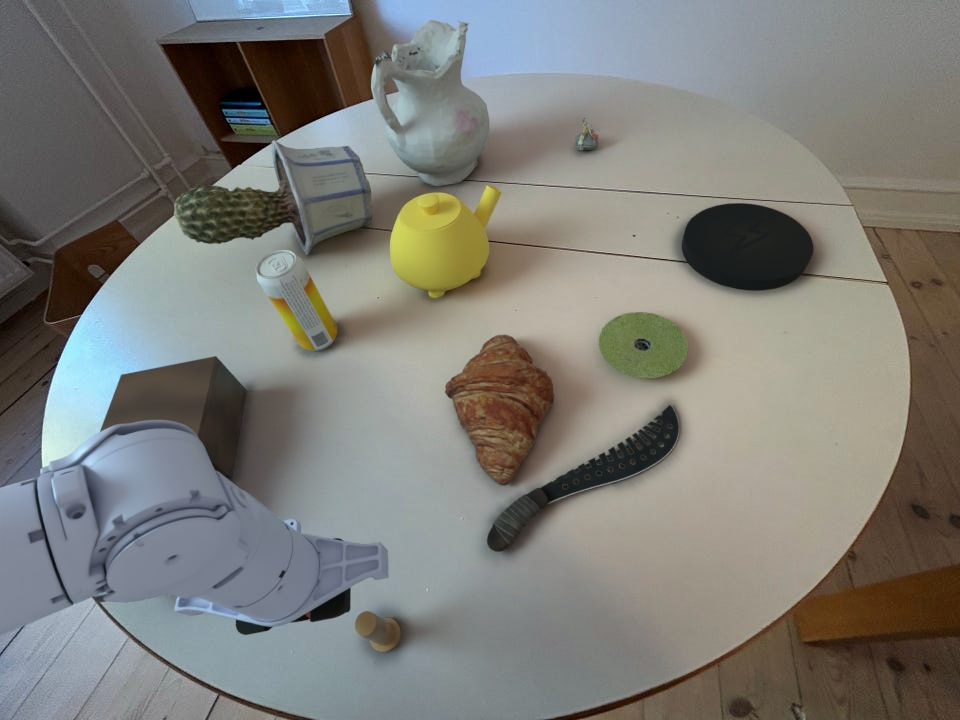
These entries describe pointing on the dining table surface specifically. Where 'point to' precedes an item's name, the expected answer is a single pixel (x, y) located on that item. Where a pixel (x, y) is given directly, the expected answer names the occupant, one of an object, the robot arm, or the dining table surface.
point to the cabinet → (186, 404)
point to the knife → (539, 498)
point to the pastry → (501, 404)
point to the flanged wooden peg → (378, 630)
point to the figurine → (586, 138)
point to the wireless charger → (747, 246)
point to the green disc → (643, 345)
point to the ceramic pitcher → (432, 105)
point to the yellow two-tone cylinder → (296, 299)
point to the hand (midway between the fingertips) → (327, 603)
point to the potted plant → (284, 200)
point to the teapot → (441, 241)
